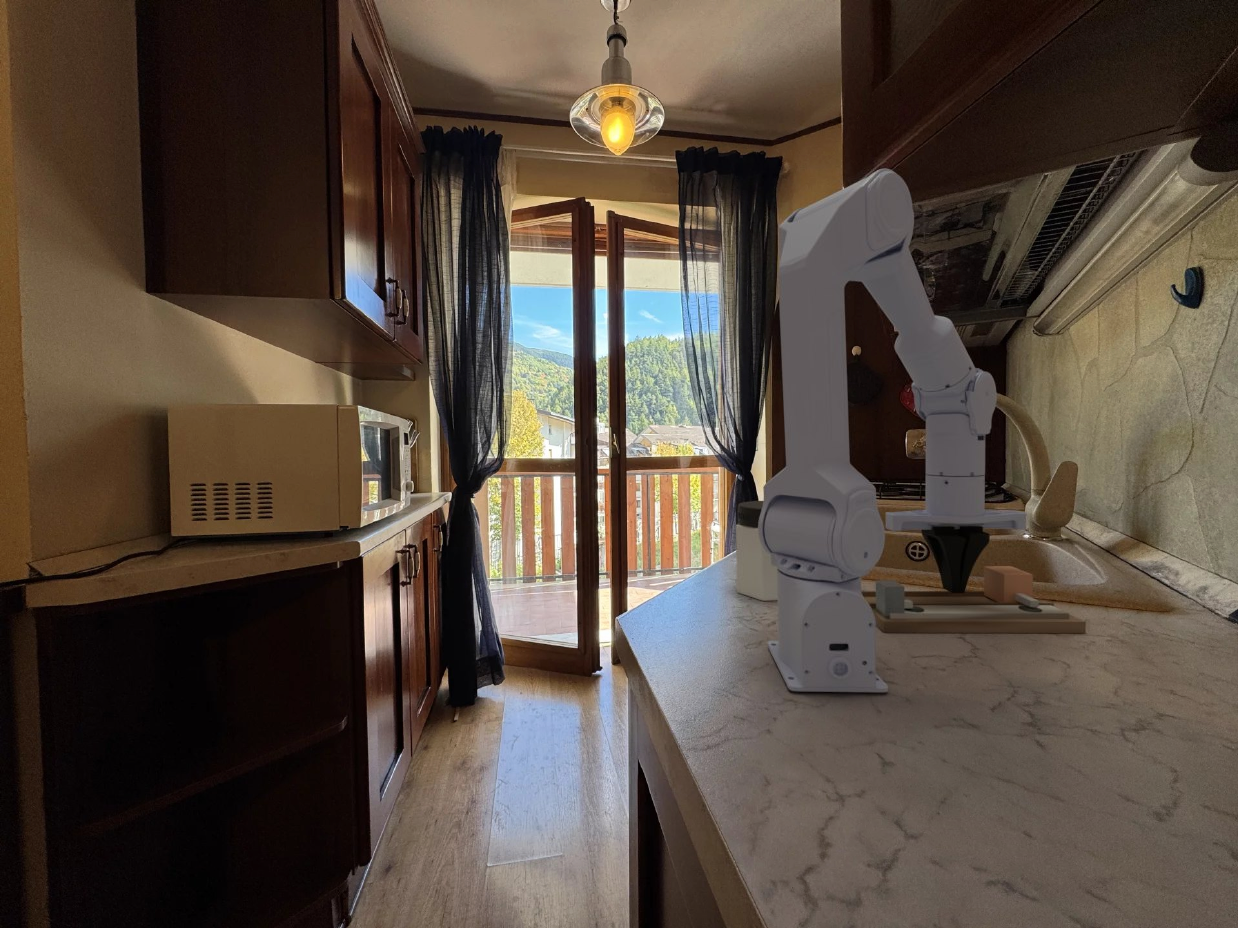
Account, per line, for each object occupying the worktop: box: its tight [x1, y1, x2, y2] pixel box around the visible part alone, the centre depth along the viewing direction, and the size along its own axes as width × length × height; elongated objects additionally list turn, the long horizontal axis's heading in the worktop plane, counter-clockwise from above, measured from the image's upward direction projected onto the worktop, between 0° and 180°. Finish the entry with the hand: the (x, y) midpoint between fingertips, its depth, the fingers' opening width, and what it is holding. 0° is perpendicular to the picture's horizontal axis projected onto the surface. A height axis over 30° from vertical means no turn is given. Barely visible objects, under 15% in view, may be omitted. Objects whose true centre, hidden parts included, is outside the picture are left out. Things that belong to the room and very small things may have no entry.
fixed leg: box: [875, 579, 913, 619], centre depth 56 cm, size 2×3×4 cm
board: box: [861, 590, 1087, 634], centre depth 57 cm, size 9×20×2 cm, turn 85°
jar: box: [735, 500, 778, 602], centre depth 69 cm, size 9×8×12 cm
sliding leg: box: [983, 565, 1039, 607], centre depth 57 cm, size 6×3×4 cm, turn 175°
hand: (953, 590), depth 59 cm, fingers closed
